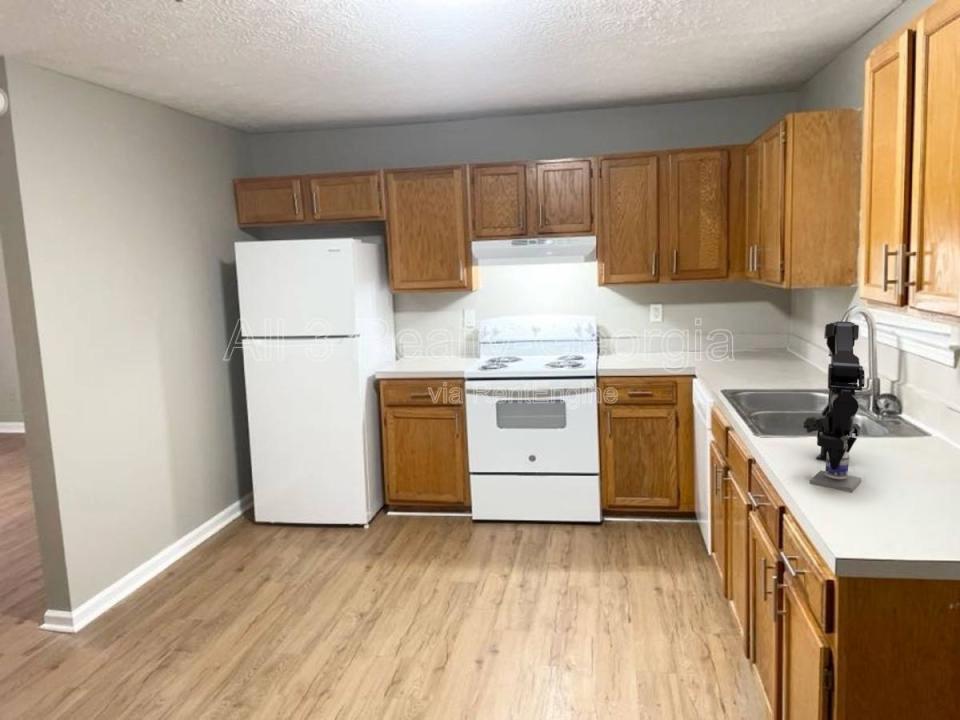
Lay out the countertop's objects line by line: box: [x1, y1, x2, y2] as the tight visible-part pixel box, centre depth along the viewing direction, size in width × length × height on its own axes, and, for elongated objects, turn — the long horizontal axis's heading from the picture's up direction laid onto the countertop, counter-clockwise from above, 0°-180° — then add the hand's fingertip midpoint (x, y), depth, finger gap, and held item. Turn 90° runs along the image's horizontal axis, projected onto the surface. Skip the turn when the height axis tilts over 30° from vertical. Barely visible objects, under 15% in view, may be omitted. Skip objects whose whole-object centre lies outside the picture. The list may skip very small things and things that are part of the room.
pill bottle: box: [824, 445, 850, 479], centre depth 185 cm, size 5×5×9 cm
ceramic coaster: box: [809, 470, 862, 494], centre depth 186 cm, size 10×10×1 cm
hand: (836, 466), depth 185 cm, fingers closed on pill bottle, 5 cm apart
